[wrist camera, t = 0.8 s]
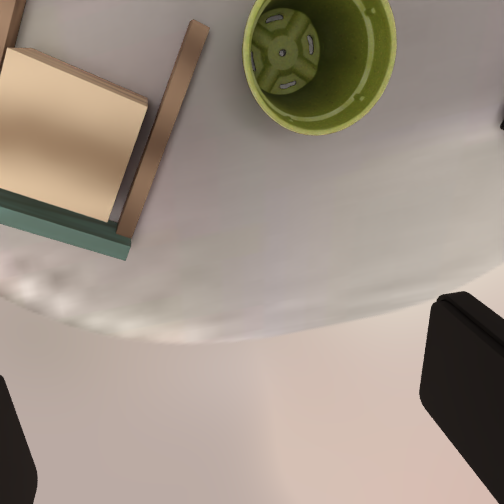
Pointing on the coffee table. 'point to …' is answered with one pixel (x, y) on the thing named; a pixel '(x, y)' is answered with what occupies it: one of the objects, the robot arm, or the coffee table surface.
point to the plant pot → (319, 60)
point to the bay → (77, 141)
